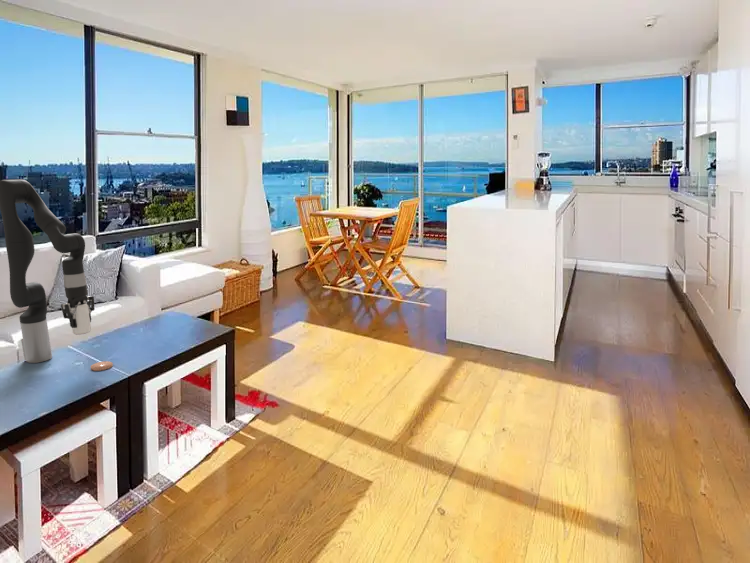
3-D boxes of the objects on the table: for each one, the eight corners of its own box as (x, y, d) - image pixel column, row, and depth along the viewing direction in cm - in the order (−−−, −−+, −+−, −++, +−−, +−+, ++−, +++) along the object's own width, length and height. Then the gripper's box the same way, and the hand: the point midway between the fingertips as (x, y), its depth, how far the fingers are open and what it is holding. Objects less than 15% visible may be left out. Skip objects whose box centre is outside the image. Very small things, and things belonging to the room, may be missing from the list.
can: (95, 330, 204) (91, 301, 202) (84, 335, 198) (80, 305, 195) (80, 329, 205) (76, 301, 202) (69, 334, 199) (64, 305, 196)
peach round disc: (86, 369, 203) (85, 367, 203) (101, 362, 211) (100, 360, 210) (102, 371, 201) (102, 369, 201) (117, 364, 209) (117, 362, 209)
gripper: (82, 280, 205) (87, 319, 208) (52, 288, 191) (58, 329, 195) (97, 281, 203) (102, 320, 207) (68, 289, 189) (74, 331, 193)
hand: (81, 324), depth 201 cm, fingers closed on can, 6 cm apart
